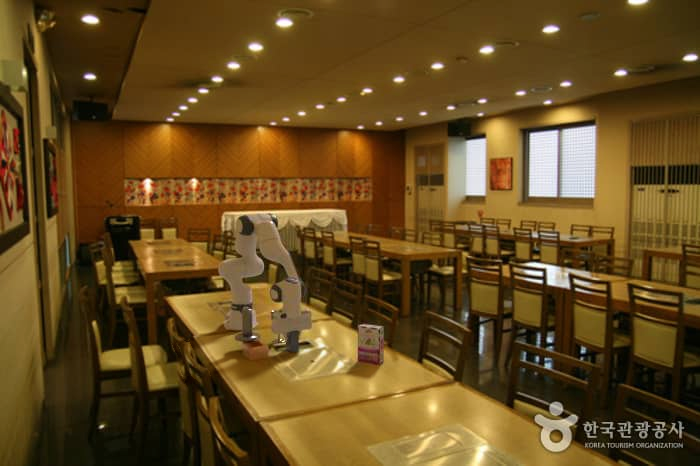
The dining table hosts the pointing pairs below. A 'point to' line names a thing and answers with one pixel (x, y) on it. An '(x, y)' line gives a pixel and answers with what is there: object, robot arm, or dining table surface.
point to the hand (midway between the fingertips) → (292, 340)
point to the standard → (251, 338)
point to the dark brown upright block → (293, 342)
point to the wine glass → (278, 334)
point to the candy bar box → (371, 343)
